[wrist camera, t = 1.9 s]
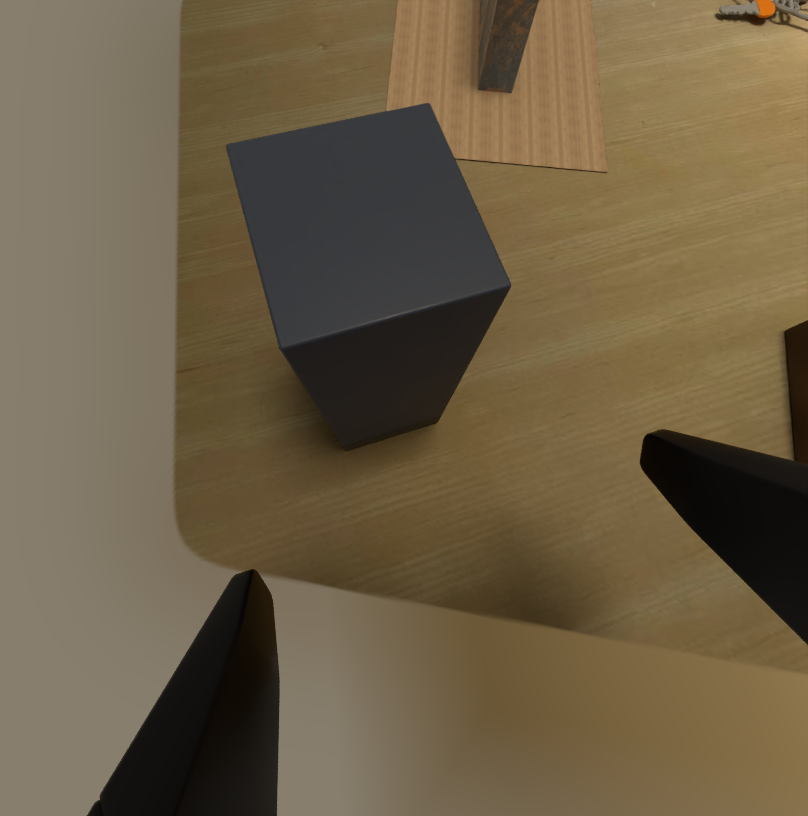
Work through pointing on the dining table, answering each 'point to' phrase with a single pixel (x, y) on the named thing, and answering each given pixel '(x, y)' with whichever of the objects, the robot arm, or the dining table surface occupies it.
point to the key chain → (765, 8)
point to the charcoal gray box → (370, 265)
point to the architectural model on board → (504, 78)
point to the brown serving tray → (799, 387)
